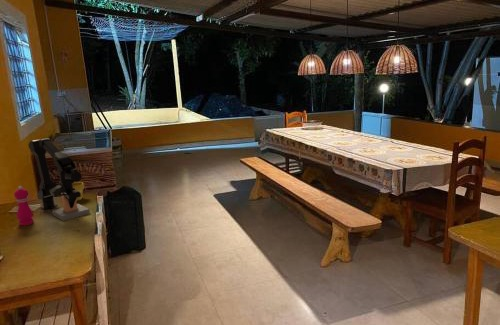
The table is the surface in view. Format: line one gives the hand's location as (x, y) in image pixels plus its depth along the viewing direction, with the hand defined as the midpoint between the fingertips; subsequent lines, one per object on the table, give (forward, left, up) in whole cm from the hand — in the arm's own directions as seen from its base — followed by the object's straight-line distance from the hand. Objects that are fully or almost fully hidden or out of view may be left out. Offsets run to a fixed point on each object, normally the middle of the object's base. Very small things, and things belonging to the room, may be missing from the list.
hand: (70, 207), depth 196 cm
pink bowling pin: (+11, -18, -4) cm, 21 cm away
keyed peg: (0, 0, -2) cm, 2 cm away
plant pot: (-26, -8, -4) cm, 28 cm away
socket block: (0, 0, -4) cm, 4 cm away
